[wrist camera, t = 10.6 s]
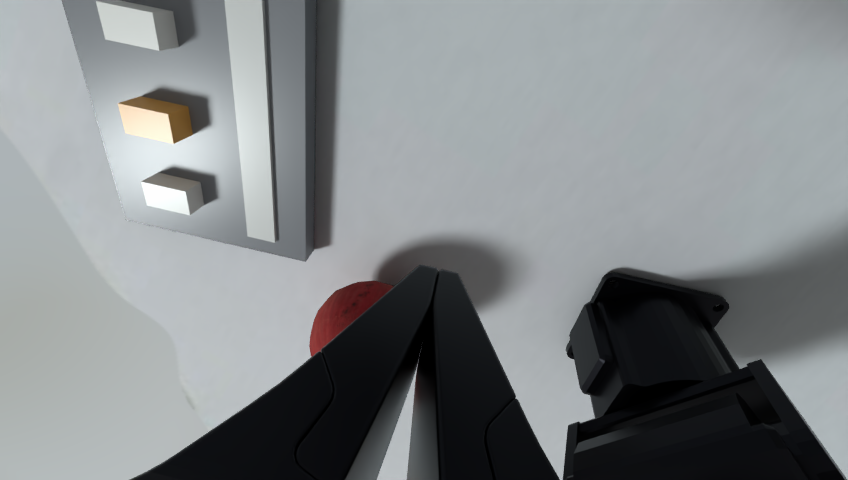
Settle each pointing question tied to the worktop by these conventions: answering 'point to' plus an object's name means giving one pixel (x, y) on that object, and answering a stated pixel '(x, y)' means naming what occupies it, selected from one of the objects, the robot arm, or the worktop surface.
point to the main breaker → (155, 119)
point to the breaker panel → (209, 114)
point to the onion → (344, 310)
